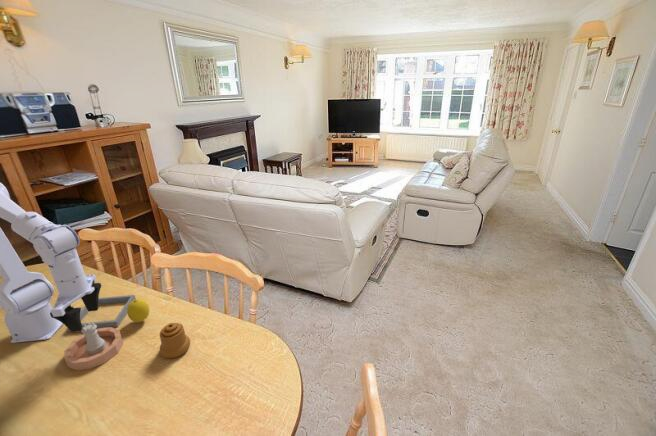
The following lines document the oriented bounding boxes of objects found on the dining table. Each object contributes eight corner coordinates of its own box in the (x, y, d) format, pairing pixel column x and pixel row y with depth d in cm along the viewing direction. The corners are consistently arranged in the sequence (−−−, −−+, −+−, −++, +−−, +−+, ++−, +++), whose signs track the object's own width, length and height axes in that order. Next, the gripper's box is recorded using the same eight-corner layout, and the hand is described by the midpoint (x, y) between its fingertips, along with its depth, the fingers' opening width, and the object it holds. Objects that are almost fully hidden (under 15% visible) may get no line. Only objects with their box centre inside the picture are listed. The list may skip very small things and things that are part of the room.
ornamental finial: (186, 358, 79) (156, 361, 78) (193, 337, 86) (166, 340, 85) (181, 334, 76) (149, 337, 75) (189, 315, 83) (160, 317, 82)
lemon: (155, 315, 94) (150, 294, 91) (143, 328, 89) (137, 306, 86) (139, 314, 95) (133, 293, 92) (126, 327, 90) (119, 305, 87)
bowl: (56, 372, 75) (53, 365, 74) (84, 337, 86) (81, 330, 85) (109, 366, 77) (106, 358, 76) (130, 332, 88) (127, 325, 87)
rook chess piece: (110, 346, 82) (102, 322, 79) (93, 358, 78) (83, 334, 75) (100, 340, 84) (92, 318, 81) (82, 352, 80) (73, 328, 77)
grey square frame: (68, 331, 87) (66, 326, 87) (93, 303, 99) (91, 298, 99) (117, 326, 90) (116, 321, 89) (135, 299, 101) (134, 294, 101)
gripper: (68, 292, 67) (86, 338, 72) (102, 259, 80) (115, 300, 85) (32, 294, 66) (53, 342, 71) (73, 261, 79) (88, 303, 84)
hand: (85, 320), depth 78 cm, fingers open, 7 cm apart
